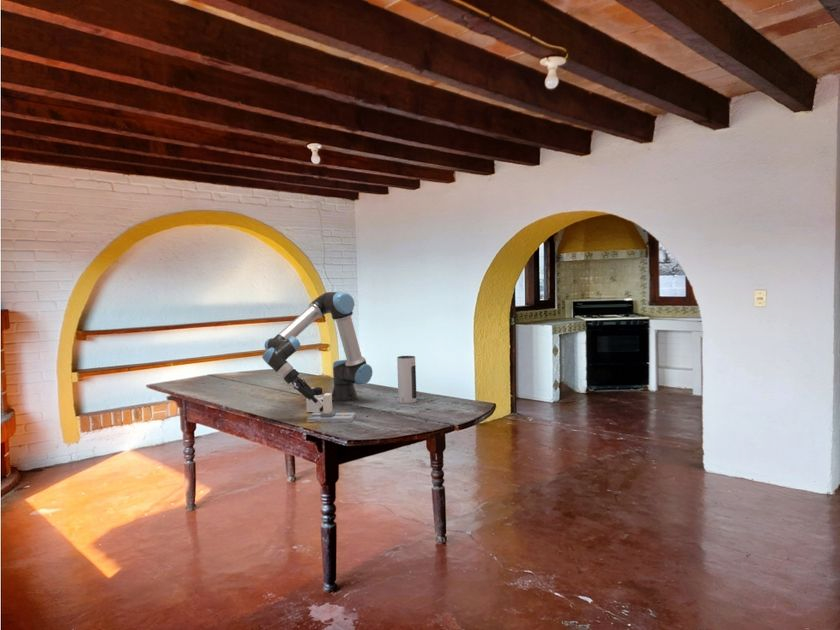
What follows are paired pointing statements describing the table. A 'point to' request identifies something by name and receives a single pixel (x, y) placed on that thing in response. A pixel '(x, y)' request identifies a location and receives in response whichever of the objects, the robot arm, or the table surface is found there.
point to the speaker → (406, 379)
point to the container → (310, 404)
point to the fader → (327, 406)
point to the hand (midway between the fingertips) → (322, 406)
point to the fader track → (336, 417)
